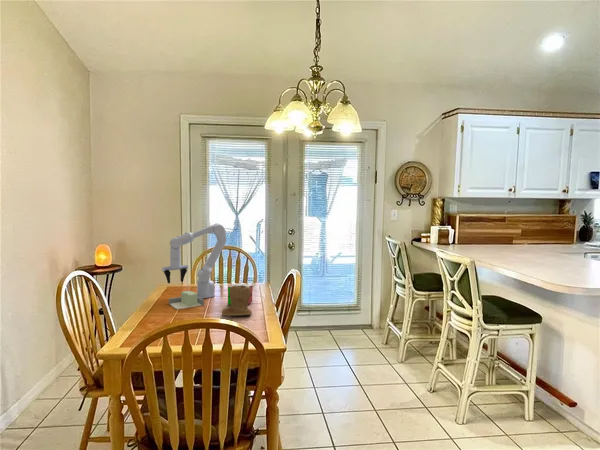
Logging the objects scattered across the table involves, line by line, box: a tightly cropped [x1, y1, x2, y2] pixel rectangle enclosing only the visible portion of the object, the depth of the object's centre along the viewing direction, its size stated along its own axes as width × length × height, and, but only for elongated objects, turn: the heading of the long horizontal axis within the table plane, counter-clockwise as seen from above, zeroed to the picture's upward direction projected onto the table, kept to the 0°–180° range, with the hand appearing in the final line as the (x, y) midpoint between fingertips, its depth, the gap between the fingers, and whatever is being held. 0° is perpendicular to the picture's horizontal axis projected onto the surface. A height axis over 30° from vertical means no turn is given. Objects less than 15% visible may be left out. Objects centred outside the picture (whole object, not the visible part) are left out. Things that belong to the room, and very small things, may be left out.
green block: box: [180, 290, 197, 306], centre depth 212 cm, size 9×4×6 cm, turn 47°
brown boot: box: [221, 284, 253, 317], centre depth 197 cm, size 15×12×15 cm
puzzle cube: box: [227, 282, 253, 306], centre depth 216 cm, size 10×10×10 cm
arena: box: [168, 296, 205, 310], centre depth 212 cm, size 15×12×3 cm
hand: (175, 282), depth 223 cm, fingers open, 7 cm apart
